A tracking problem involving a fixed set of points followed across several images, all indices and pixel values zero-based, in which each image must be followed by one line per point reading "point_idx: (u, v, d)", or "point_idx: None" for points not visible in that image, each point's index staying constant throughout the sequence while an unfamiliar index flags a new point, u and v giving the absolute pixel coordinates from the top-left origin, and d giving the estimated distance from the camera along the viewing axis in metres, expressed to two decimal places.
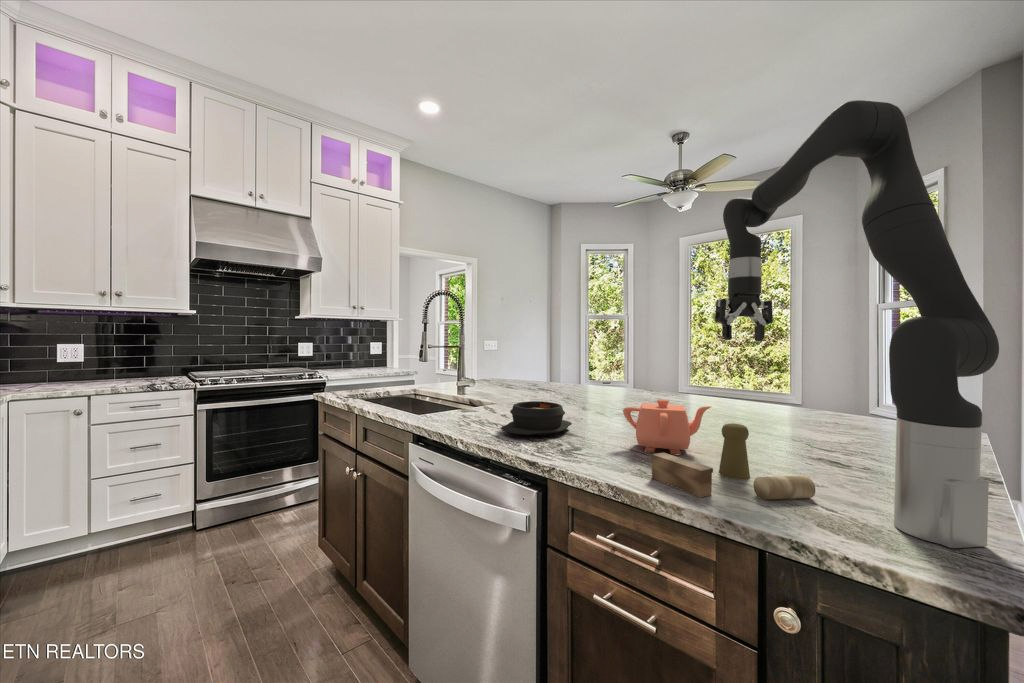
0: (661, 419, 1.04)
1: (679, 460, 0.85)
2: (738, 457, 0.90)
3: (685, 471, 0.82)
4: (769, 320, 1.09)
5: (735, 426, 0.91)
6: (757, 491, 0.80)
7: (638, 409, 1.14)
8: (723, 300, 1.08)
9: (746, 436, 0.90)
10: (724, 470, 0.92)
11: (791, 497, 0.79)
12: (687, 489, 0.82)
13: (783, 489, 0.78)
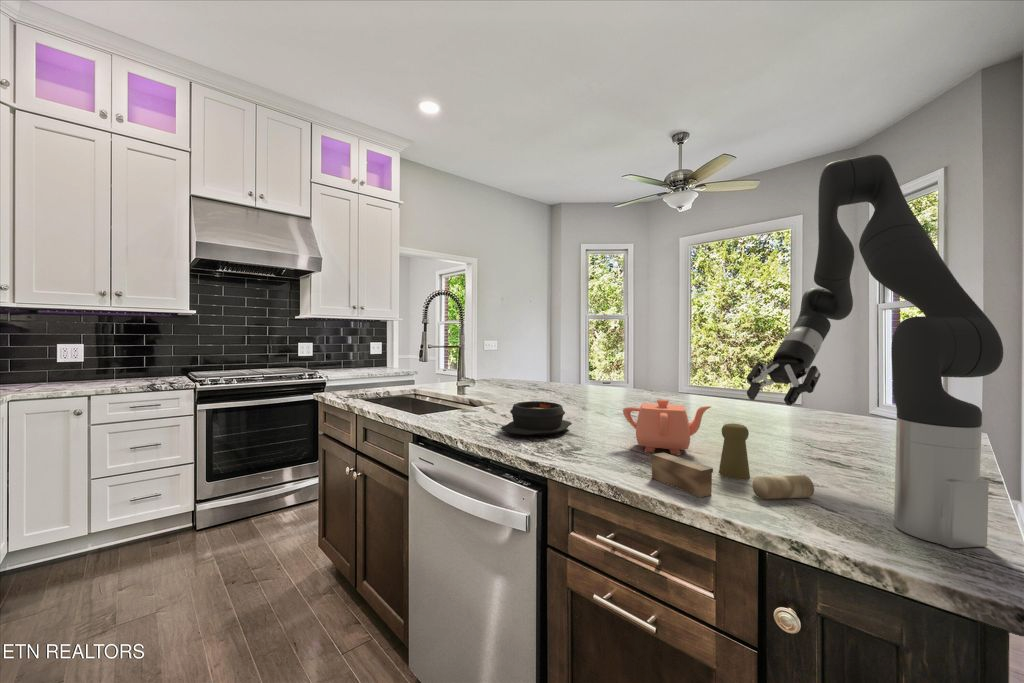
0: (661, 419, 1.04)
1: (679, 460, 0.85)
2: (738, 457, 0.90)
3: (685, 471, 0.82)
4: (804, 382, 0.93)
5: (735, 426, 0.91)
6: (756, 491, 0.80)
7: (638, 409, 1.14)
8: (758, 363, 1.06)
9: (746, 436, 0.90)
10: (724, 470, 0.92)
11: (791, 496, 0.79)
12: (687, 489, 0.82)
13: (782, 487, 0.78)
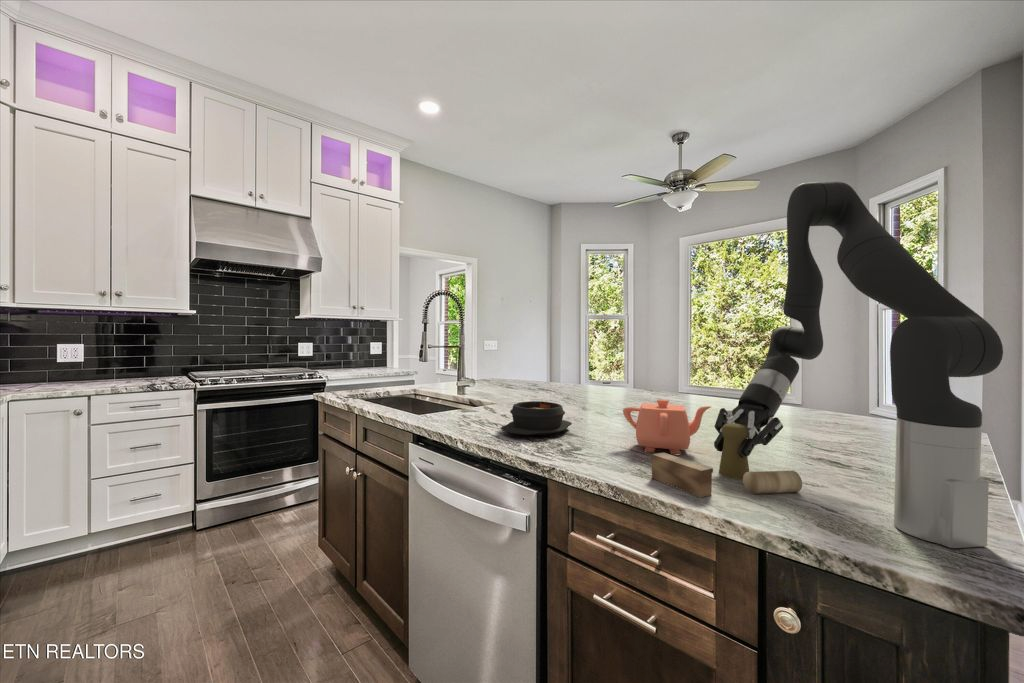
0: (661, 419, 1.04)
1: (679, 460, 0.85)
2: (738, 457, 0.90)
3: (685, 471, 0.82)
4: (758, 434, 0.89)
5: (735, 426, 0.91)
6: (752, 488, 0.81)
7: (638, 409, 1.14)
8: (721, 409, 1.00)
9: (746, 436, 0.90)
10: (724, 470, 0.92)
11: (779, 476, 0.82)
12: (687, 489, 0.82)
13: (762, 471, 0.83)
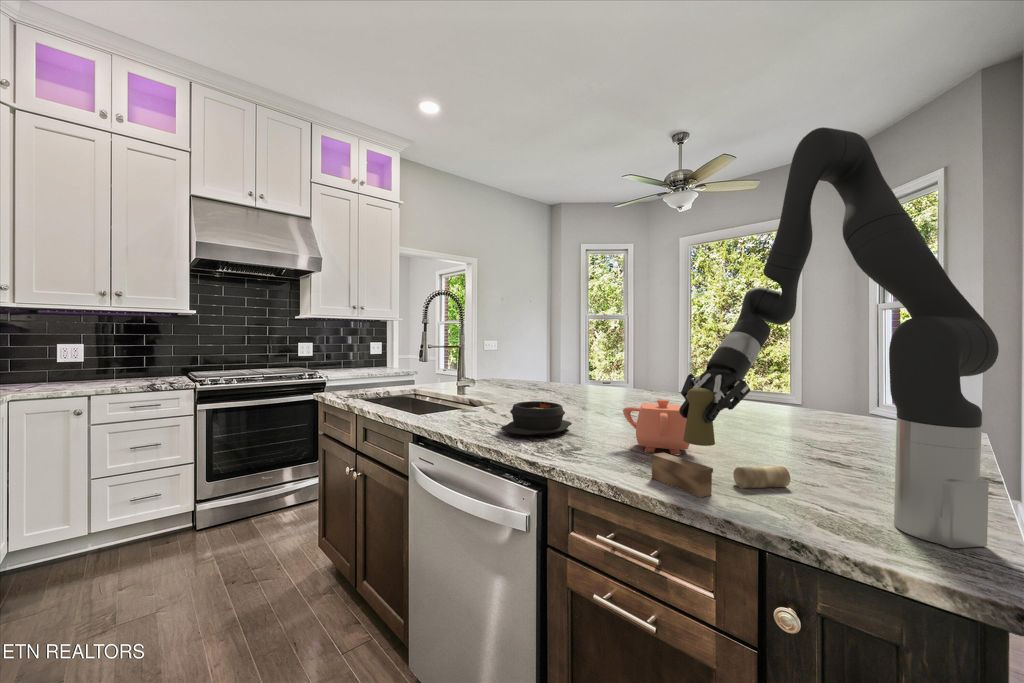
0: (661, 419, 1.04)
1: (679, 460, 0.85)
2: (702, 422, 0.85)
3: (685, 471, 0.82)
4: (724, 398, 0.84)
5: (700, 390, 0.86)
6: (742, 474, 0.84)
7: (638, 409, 1.14)
8: (689, 375, 0.95)
9: (711, 400, 0.85)
10: (688, 437, 0.87)
11: None
12: (687, 489, 0.82)
13: None
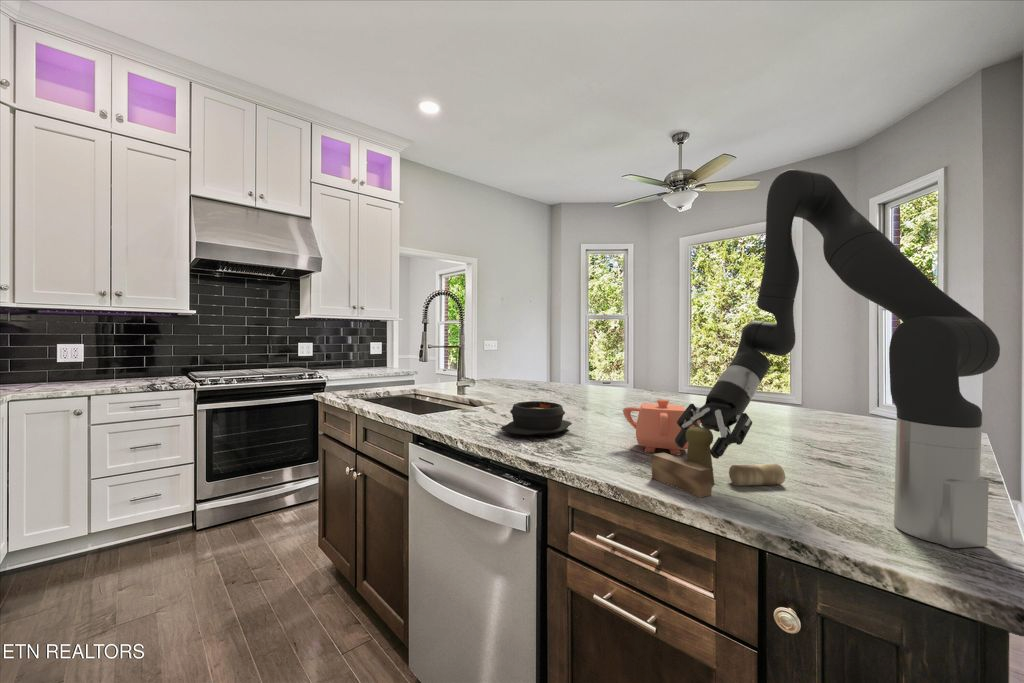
0: (661, 419, 1.04)
1: (679, 460, 0.85)
2: (701, 463, 0.86)
3: (685, 471, 0.82)
4: (732, 433, 0.83)
5: (699, 430, 0.87)
6: (735, 469, 0.87)
7: (638, 409, 1.14)
8: (690, 405, 0.95)
9: (710, 441, 0.86)
10: None
11: None
12: (687, 489, 0.82)
13: None
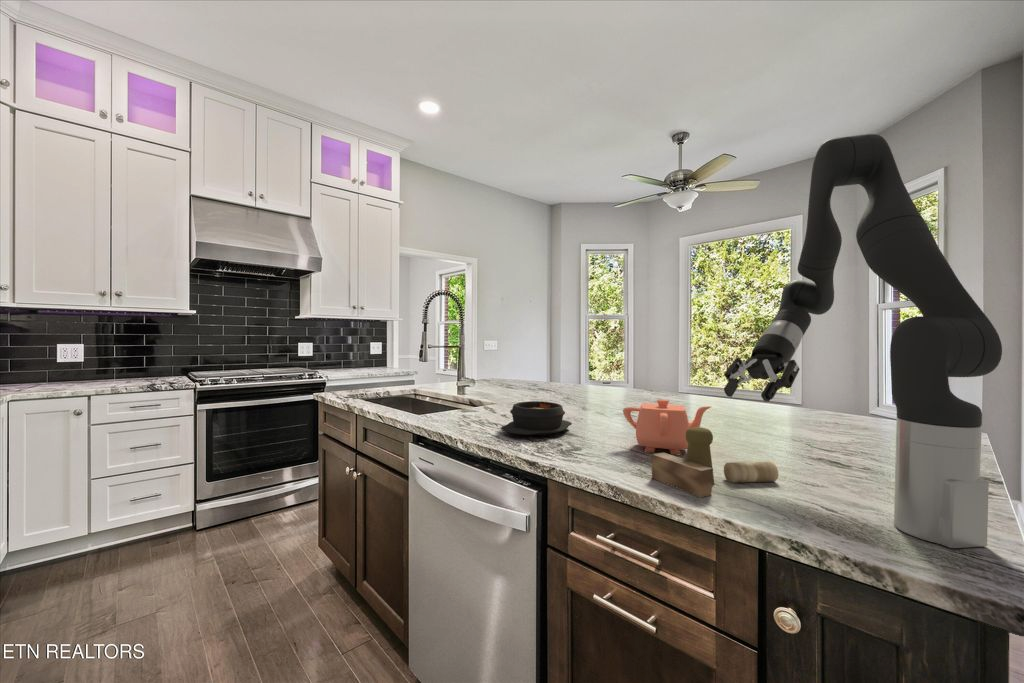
0: (661, 419, 1.04)
1: (679, 460, 0.85)
2: (701, 462, 0.86)
3: (685, 471, 0.82)
4: (782, 377, 0.89)
5: (698, 430, 0.87)
6: (726, 467, 0.89)
7: (638, 409, 1.14)
8: (736, 359, 1.02)
9: (710, 440, 0.86)
10: None
11: None
12: (687, 489, 0.82)
13: None
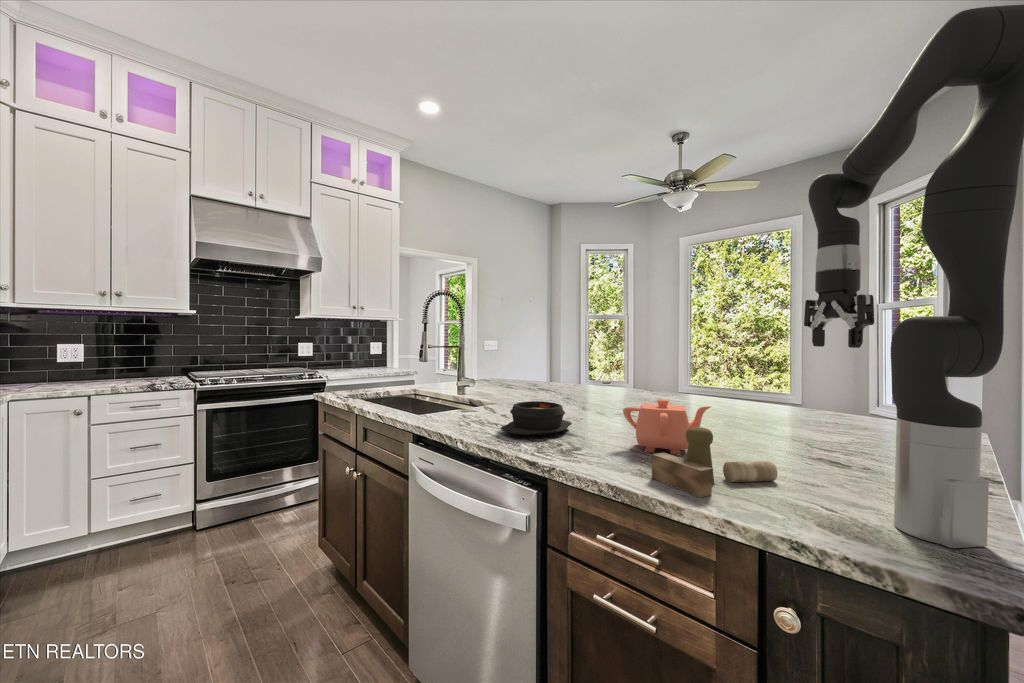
0: (661, 419, 1.04)
1: (679, 460, 0.85)
2: (701, 462, 0.86)
3: (685, 471, 0.82)
4: (858, 321, 0.83)
5: (699, 430, 0.87)
6: (725, 467, 0.90)
7: (638, 409, 1.14)
8: (806, 302, 0.96)
9: (710, 440, 0.86)
10: None
11: None
12: (687, 489, 0.82)
13: (744, 481, 0.88)
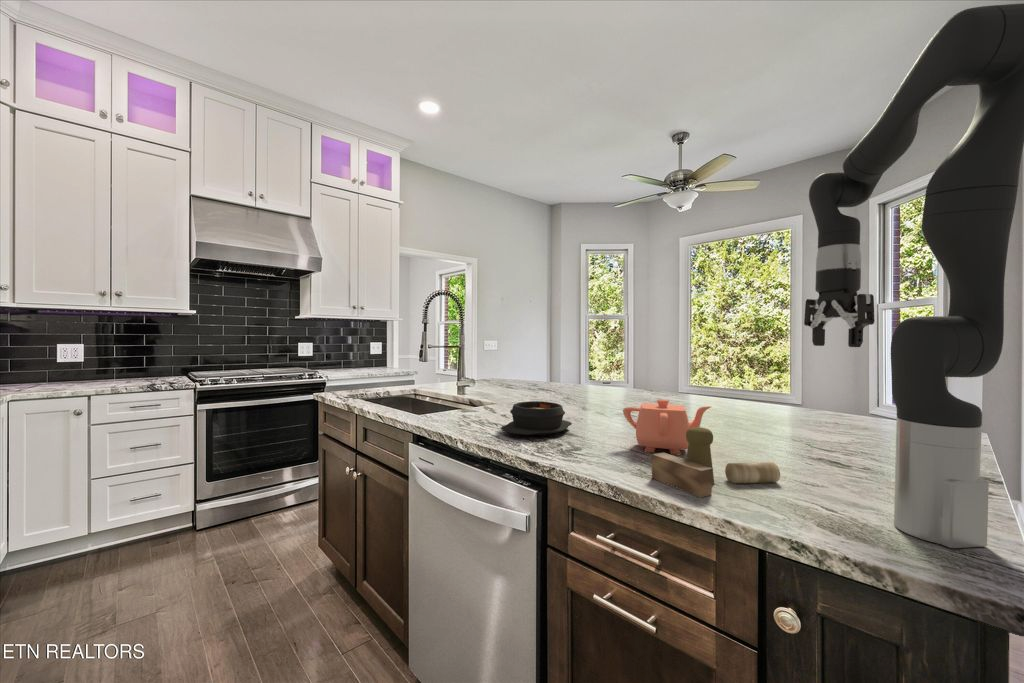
0: (661, 419, 1.04)
1: (679, 460, 0.85)
2: (701, 463, 0.86)
3: (685, 471, 0.82)
4: (858, 320, 0.83)
5: (699, 430, 0.87)
6: (729, 467, 0.89)
7: (638, 409, 1.14)
8: (806, 301, 0.96)
9: (710, 441, 0.86)
10: None
11: None
12: (687, 489, 0.82)
13: None
